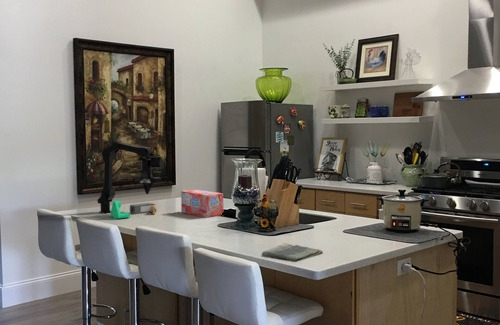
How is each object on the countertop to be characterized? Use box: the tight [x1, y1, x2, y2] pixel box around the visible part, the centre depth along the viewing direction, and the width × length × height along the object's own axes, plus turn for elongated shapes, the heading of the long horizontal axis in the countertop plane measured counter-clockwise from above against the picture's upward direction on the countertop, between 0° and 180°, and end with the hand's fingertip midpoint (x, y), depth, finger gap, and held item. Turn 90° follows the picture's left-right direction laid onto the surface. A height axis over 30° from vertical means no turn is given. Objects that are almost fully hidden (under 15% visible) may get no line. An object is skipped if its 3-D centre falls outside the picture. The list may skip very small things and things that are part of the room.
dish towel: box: [261, 242, 324, 262], centre depth 228 cm, size 19×18×3 cm
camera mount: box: [110, 200, 132, 220], centre depth 329 cm, size 12×8×10 cm, turn 36°
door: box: [152, 203, 157, 215], centre depth 343 cm, size 2×11×5 cm, turn 5°
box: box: [180, 189, 225, 219], centre depth 336 cm, size 27×13×14 cm, turn 40°
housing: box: [129, 202, 155, 215], centre depth 347 cm, size 7×14×5 cm, turn 125°
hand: (147, 193), depth 342 cm, fingers closed
